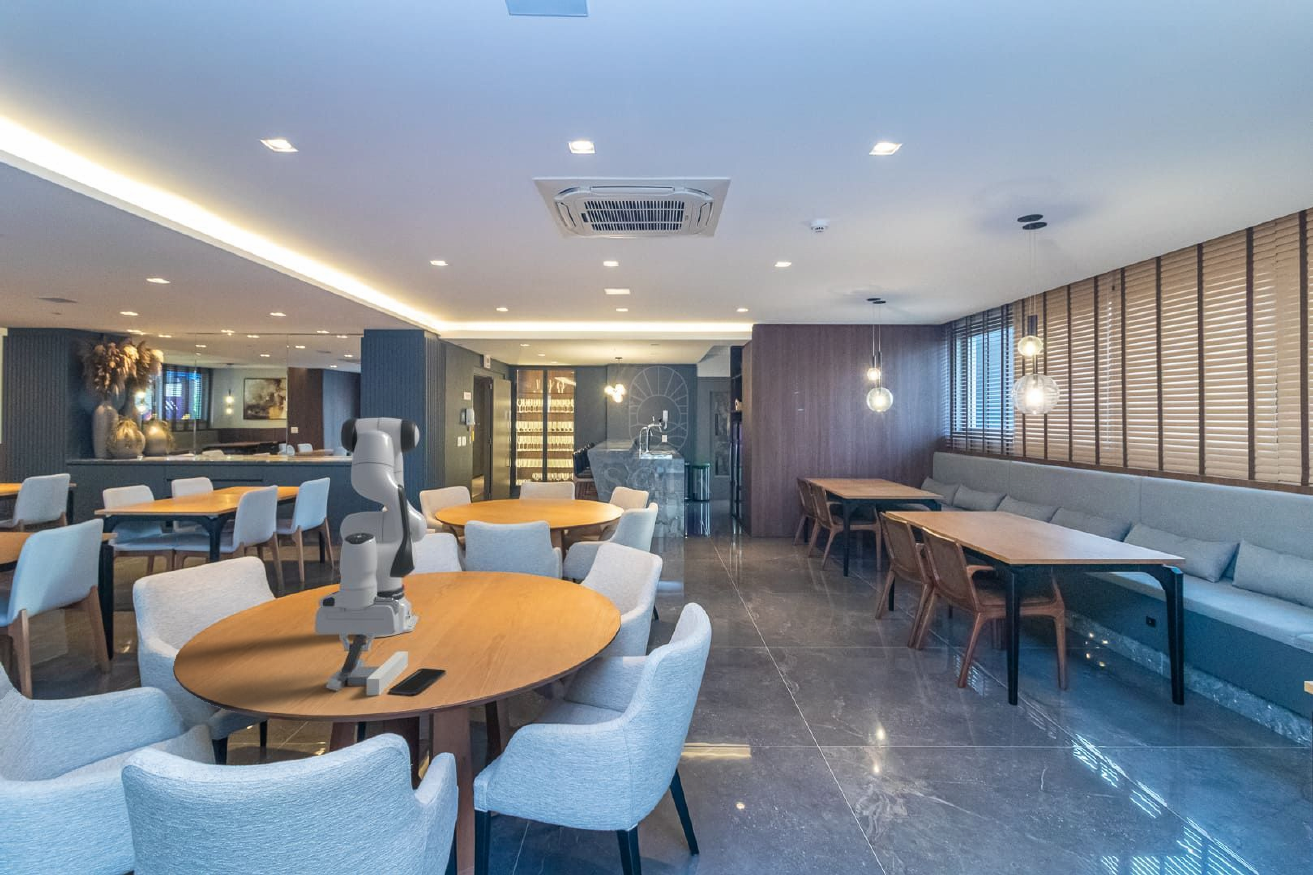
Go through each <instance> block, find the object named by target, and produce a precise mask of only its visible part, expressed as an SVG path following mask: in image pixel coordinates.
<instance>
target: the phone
mask: <svg viewBox="0 0 1313 875" xmlns="http://www.w3.org/2000/svg"><path fill="white" fill-rule="evenodd" d="M446 675H447V670H445V669H436V668H427V667H426V668H419V669H417V670H416V671H414V672H413V673H411V674H409V676H407V677H406V678H404V679H402V680H401V681H400V682H398V683H396V684H395V685H394V686H392V687H390V688H389V690H388V693H389V694H390V695H396V696H397V695H398V696H408V697H409V696H410V697H416V696H418V695H420V694H422V693H424V691H425V690H427V689H428V688H430V686H433V685H434V684H435V683H436V682H438V681H439V680H441V679H442V678H443V677H444V676H446Z"/></svg>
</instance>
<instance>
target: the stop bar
mask: <svg viewBox="0 0 1313 875" xmlns="http://www.w3.org/2000/svg"><path fill="white" fill-rule="evenodd" d="M408 659H409V651H396V652H395V653H393V654H392V655H391V657H389V658H388V659H387V660H386V661H385V662H384V663H383V664H381V665H380V666H378V667H379V668H378V669H377V670H376V671H375V672H374V673H373V674H372V675H371V676H369V677H368V678H367V685H366V696H381V694H382V693H383V692H384V691H385V690H386V689H387V687H389V686H390V685H391V684H392V683H393V682H394V681H395V679H397V678H398V677H399V676H400V674H402V673H403V672H404V670H406V668H408V664H409V660H408ZM384 689H385V690H384Z"/></svg>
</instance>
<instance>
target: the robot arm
mask: <svg viewBox="0 0 1313 875" xmlns="http://www.w3.org/2000/svg"><path fill="white" fill-rule="evenodd" d="M339 439H340V442H341V446H342V448H344V450H346V451H347V452H350V453H353V455H352V460H351V470H350V472H351V473H350V481H351V485H352V488H353V489H354V490H355V492H357V493H358V494H359V495H360V496H362V497H363V498H366V499H367V500H370V501H372V502H376V503H379V504H382V505H383V507H385V509H386V510H385V511H383V510H381V511H361V512H360V511H359V512H356V513H354V512H353V513H351V514H348V515H346V516H345V518H343V520H342V522H341V524H340V526H339V527H340V529H339V533H340V537H341V538H342V544H341V549H340V554H339V558H338V559H339V560H338V571H339V573H340V582H339V587H338V588H339V589H338V591H335V592H331V593H328V594H326V595H325V596H324V595H323V597H321V598H319V599H318V607H319V608H318V609H317V610H316V613H315V617H314V631H315V633H316V634H317V635H339V638H338V639H339V641H340V642H341V644H343V651H344V652H349V650H350V648H351V645H352V643H353V642H350V640H349V638H348V637H349V635H358V634H362V635H365V636H367V640H366V643H364V644H363V645H362V648H363V649H362V652H370V651H371V649H372V648H371V647H372V642H373V641H374V639H375V638H384V637H385V638H387V637H390V636H391V637H392V636H396V635H399V634H402V633H409V632H413V630H414V629H415V626H416V624H417V622H418V621H419V616H418V615H414V614H412V603H411V602H410V601H408V600H407V598H406V597H405V590H406V588H407V584H406V583H403V578H405V577H407V576H408V575H410V574H411V573H412V572H413V571H414V570H415V568H416V565H417V558H418V557H417V551H416V547H415V544H414V543H417V542H420V541H422V539H423V538H424V537H425V536H426V533H427V532H428V531H427V530H428V522H427V520H426V518H425V516H424V514H422V513H421V512H420V511H418V510H417V509H415V508H414V507H413V506H412V505H411V503H410V502H409V500H408V498H407V494H406V491H405V482H404V458H403V455H407V453H410V452H412V451H414V450H415V449H416V448H417V445H418V443H419V441H420V430H419V428H418V425H417V423H416V422H415V421H414V420H411V419H407V418H402V419H401V418H394V417H384V416H383V417H365V418H358V417H355V418H354V417H353V418H348V419H346V420H345V421H344V422H343V423H342V425H341V428H340V432H339Z"/></svg>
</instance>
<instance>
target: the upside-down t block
mask: <svg viewBox="0 0 1313 875" xmlns="http://www.w3.org/2000/svg"><path fill="white" fill-rule="evenodd" d="M367 641H368V638H367V636H365V635H362V634H355V636H354V638H353V640H352V642H351V643H352V645H351V648H350V650H349V651H348V653H347V656H346V658H345V661H344V664H343V666H342V668H340V669H339V670H337V671H336V672H335V673H334V674H332V675H331V676H329V677H328V678H329V679H328V681H327V683H326V686H325V688H327V689H329V690H332V691H335V692H338V691H340V690H341V689H342V688H343V687H344V686H345V685H346V684H347V685H348V677H349V676H350V675H351V674H352V673H353V672H355V671H356V670H357V669H358V668H359V667H365V665H366V662H367V661H366V660H364V659H361V658H360V657H361V655H362V653H363V651H362V649H363V648H362V645H363V644H364V643H367ZM339 689H340V690H339Z"/></svg>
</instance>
